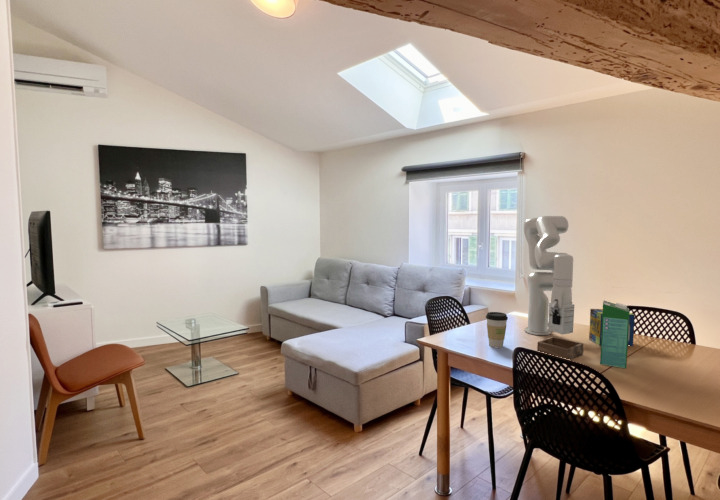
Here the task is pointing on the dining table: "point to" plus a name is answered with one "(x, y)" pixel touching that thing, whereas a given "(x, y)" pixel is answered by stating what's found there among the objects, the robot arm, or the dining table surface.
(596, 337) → the protein box
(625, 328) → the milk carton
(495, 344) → the coffee cup
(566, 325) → the supplement box
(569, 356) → the bin
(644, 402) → the dining table surface
